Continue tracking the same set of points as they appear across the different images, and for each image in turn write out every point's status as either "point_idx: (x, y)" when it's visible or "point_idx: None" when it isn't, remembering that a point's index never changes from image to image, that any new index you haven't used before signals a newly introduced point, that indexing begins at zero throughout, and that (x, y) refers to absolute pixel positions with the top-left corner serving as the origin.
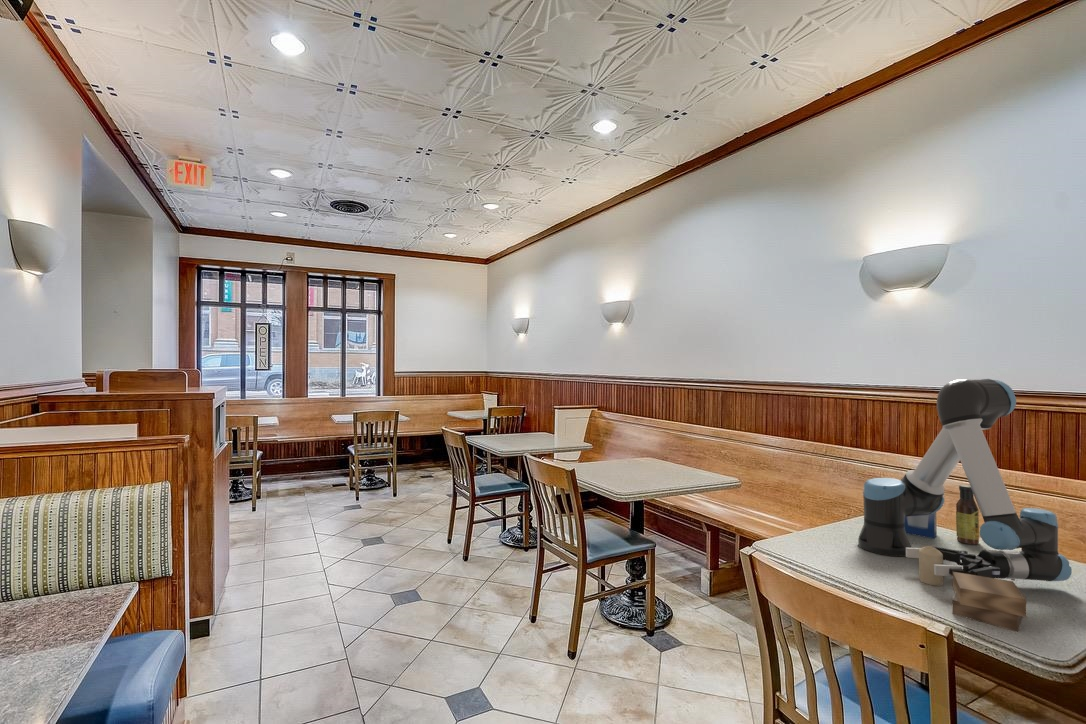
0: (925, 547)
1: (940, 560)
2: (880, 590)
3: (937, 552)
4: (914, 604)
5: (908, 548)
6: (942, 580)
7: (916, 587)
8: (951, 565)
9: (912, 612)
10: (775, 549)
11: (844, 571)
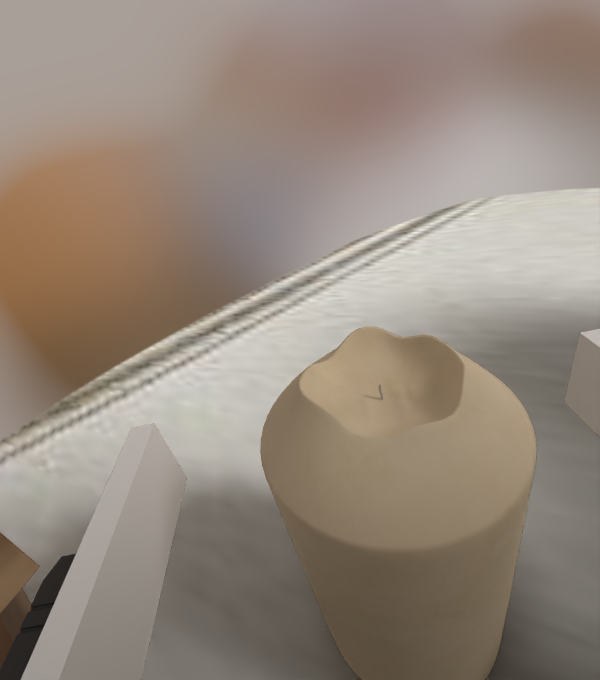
0: (415, 350)
1: (285, 524)
2: (228, 356)
3: (284, 438)
4: (106, 418)
5: (589, 339)
6: (347, 660)
7: None
8: (88, 570)
9: (60, 402)
10: (504, 206)
11: (386, 296)
